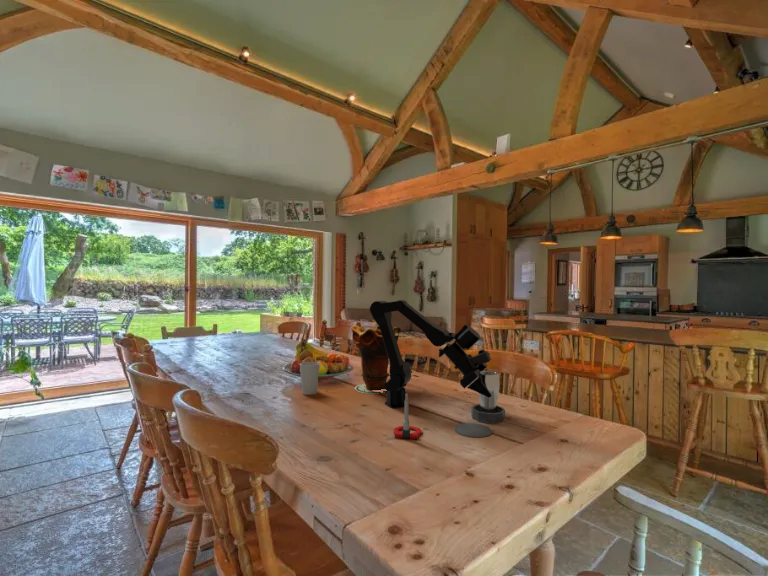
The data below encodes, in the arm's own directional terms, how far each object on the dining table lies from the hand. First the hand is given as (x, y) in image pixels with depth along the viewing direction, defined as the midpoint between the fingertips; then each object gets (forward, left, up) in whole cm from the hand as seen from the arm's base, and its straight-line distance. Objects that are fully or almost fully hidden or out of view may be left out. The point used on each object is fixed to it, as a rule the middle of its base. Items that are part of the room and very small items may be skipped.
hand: (492, 393), depth 129 cm
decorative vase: (-19, +52, -8) cm, 56 cm away
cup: (-46, +58, -8) cm, 75 cm away
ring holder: (-1, +1, -8) cm, 8 cm away
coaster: (-13, -6, -8) cm, 16 cm away
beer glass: (-1, +1, -8) cm, 8 cm away
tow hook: (-32, +1, -8) cm, 33 cm away
